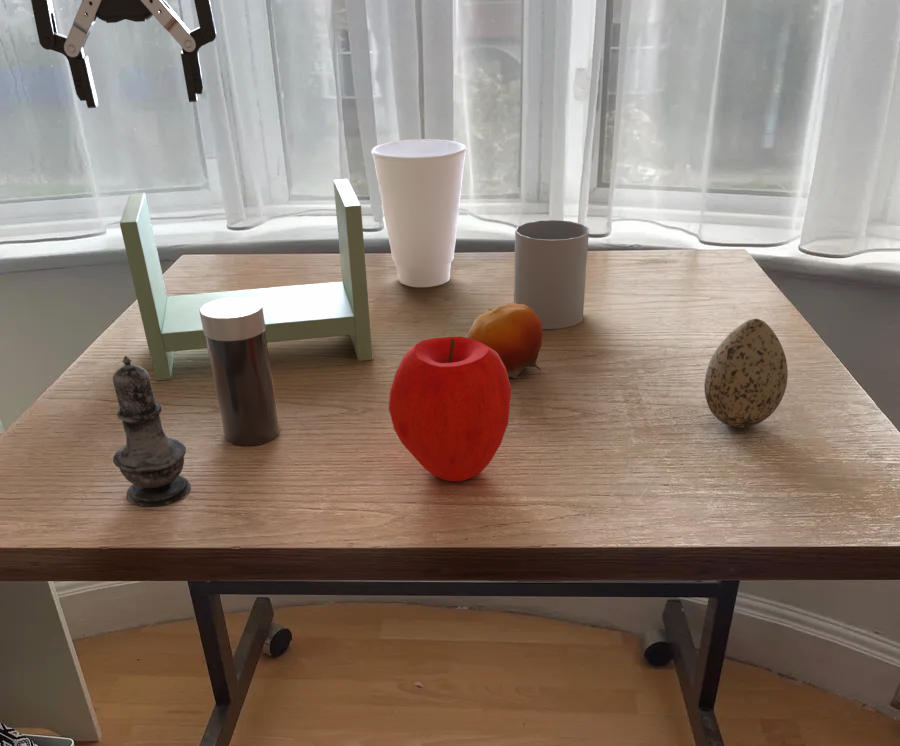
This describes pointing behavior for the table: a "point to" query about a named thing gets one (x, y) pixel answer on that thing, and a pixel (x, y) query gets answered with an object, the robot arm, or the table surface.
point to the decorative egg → (746, 375)
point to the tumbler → (241, 369)
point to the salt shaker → (146, 443)
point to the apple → (451, 405)
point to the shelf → (251, 292)
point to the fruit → (510, 335)
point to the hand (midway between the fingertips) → (143, 103)
